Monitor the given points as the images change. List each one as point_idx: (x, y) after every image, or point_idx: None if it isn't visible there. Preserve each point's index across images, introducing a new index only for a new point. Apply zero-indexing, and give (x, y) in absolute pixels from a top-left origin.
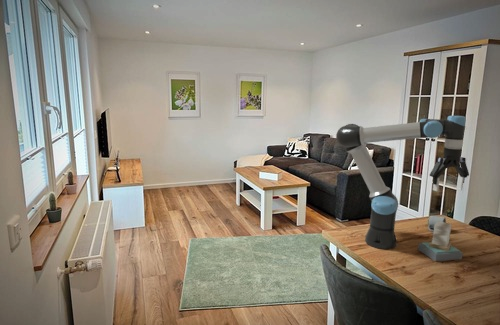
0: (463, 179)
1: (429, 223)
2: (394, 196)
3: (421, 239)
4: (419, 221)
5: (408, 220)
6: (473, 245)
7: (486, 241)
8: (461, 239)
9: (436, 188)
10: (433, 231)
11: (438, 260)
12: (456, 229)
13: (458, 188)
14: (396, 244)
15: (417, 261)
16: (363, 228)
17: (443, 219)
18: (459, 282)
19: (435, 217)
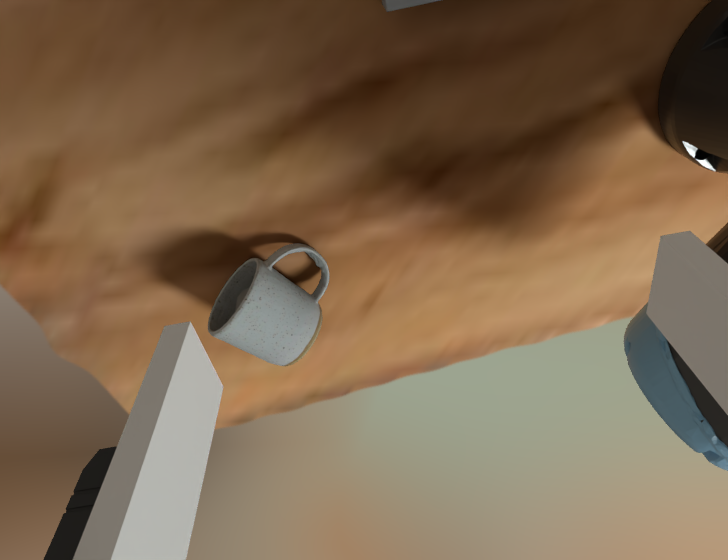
0: (93, 515)
1: (316, 306)
2: (712, 404)
3: (448, 138)
4: (315, 373)
5: (369, 380)
6: (136, 54)
7: (16, 126)
8: (179, 150)
9: (719, 270)
10: (311, 247)
11: None
12: (147, 290)
13: (207, 372)
14: (700, 21)
15: None
16: None
17: (241, 307)
18: None
19: (278, 336)
